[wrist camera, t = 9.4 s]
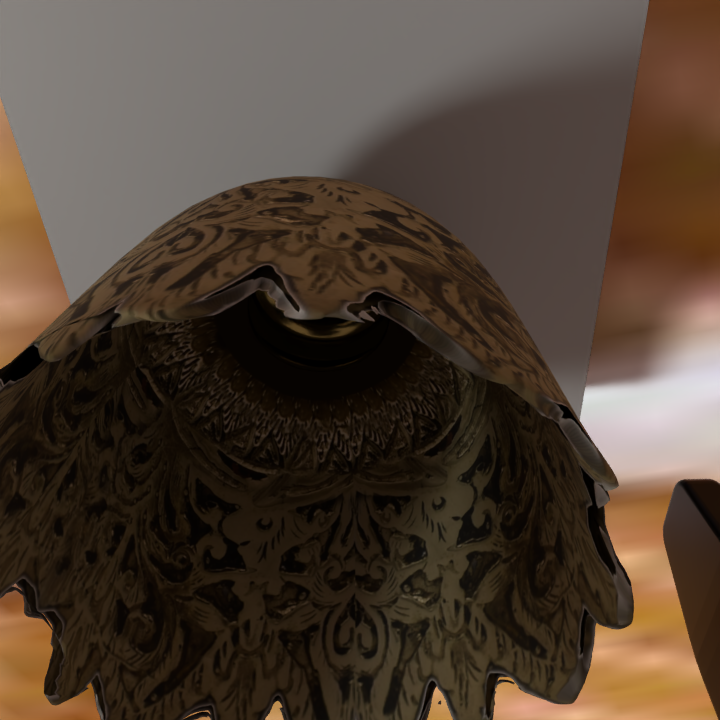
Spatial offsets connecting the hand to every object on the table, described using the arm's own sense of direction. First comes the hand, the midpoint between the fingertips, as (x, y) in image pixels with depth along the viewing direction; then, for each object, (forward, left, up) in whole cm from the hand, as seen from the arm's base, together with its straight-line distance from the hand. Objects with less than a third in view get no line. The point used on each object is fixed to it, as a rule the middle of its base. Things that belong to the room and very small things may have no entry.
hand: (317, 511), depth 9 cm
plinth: (0, 0, -9) cm, 9 cm away
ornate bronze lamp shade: (0, 0, -6) cm, 7 cm away
